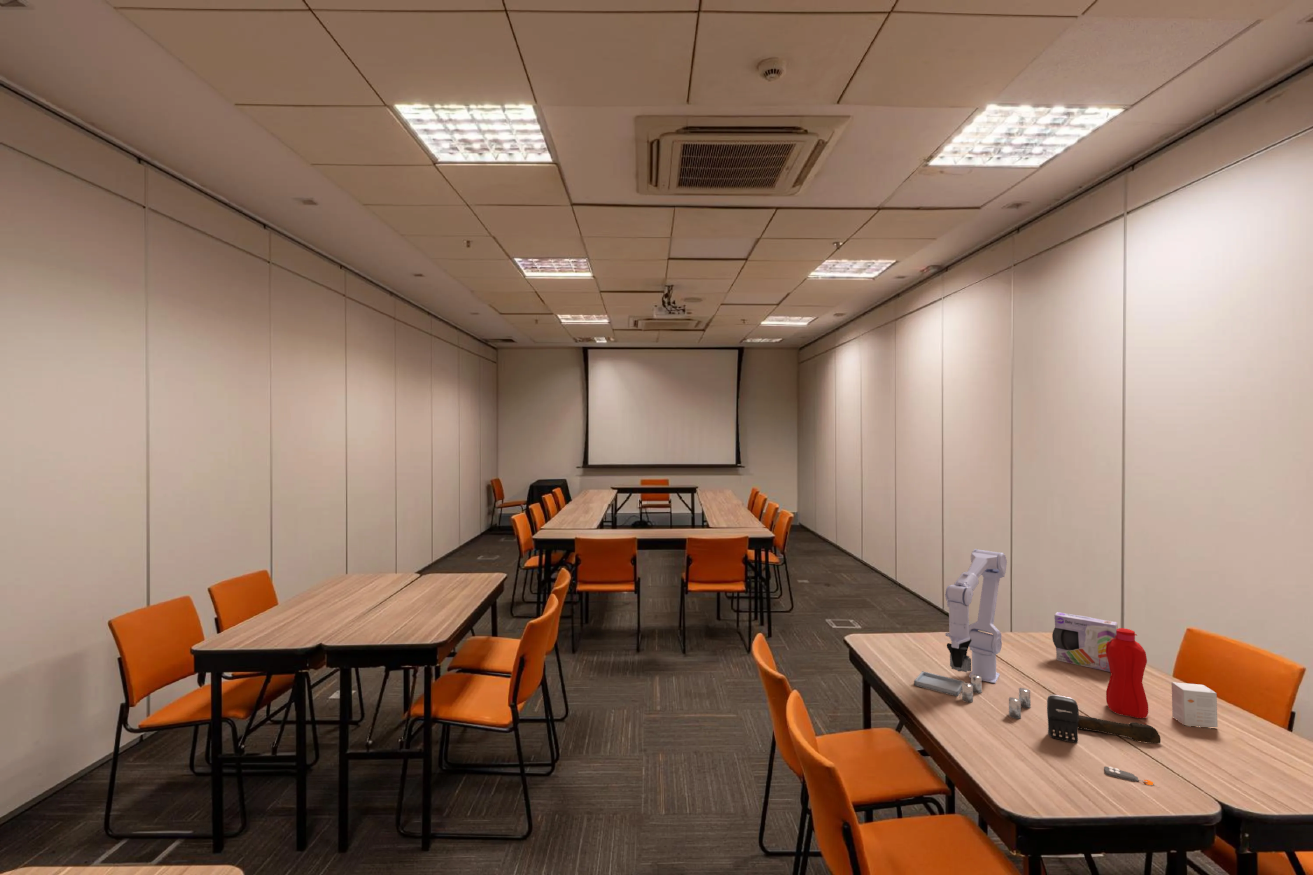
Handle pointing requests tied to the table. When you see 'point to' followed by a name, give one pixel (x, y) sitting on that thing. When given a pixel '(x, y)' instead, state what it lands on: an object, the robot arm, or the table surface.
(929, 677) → the tray
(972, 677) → the cylinder
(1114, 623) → the cake pan box
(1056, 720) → the battery charger
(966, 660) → the nut
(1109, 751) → the table surface
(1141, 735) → the dark brown bar
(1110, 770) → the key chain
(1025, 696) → the cylinder
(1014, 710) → the cylinder
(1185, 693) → the small box
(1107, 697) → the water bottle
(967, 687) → the cylinder
